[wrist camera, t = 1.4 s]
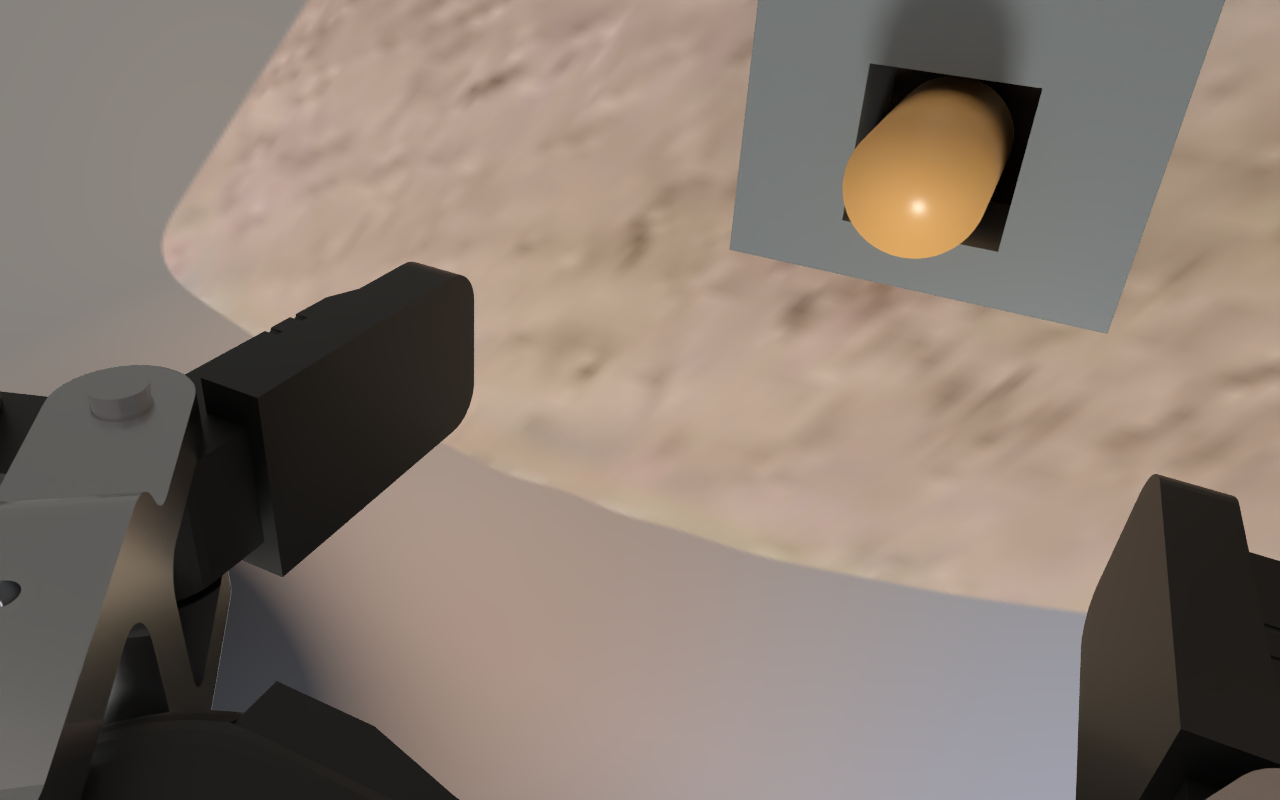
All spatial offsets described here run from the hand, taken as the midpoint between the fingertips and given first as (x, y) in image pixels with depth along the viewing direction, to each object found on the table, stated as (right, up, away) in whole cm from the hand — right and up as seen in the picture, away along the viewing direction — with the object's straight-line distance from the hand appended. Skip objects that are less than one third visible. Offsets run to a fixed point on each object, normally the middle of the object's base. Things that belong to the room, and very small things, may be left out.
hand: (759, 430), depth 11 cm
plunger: (+7, +7, +14) cm, 17 cm away
